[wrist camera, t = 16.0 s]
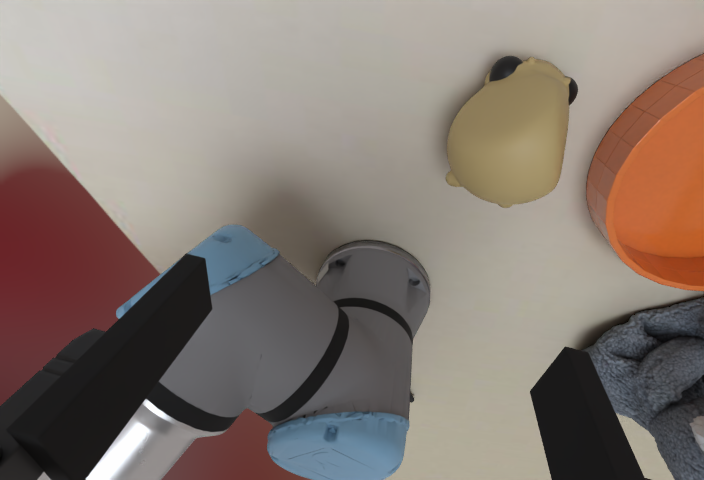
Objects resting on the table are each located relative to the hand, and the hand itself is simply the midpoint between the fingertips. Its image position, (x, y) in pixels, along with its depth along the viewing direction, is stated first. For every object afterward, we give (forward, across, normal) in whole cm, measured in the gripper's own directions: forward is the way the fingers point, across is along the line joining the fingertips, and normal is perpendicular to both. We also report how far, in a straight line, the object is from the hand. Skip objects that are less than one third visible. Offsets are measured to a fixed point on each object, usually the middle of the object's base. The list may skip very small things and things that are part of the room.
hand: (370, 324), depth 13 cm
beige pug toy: (+27, -8, -2) cm, 28 cm away
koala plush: (+27, -36, +21) cm, 50 cm away
